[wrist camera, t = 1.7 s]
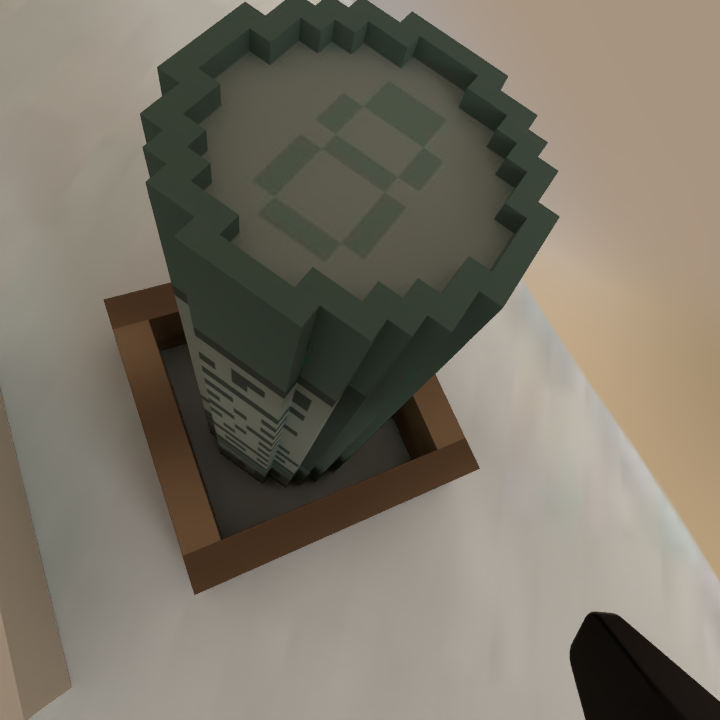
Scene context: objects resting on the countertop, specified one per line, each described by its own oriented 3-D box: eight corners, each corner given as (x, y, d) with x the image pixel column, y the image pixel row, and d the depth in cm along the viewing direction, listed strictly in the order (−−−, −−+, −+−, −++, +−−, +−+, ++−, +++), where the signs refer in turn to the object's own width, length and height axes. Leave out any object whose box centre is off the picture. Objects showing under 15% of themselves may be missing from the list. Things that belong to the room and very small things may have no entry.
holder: (450, 480, 22) (479, 468, 19) (201, 589, 19) (194, 594, 16) (354, 269, 25) (367, 232, 22) (121, 333, 21) (103, 299, 19)
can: (387, 394, 23) (605, 141, 9) (305, 515, 20) (432, 420, 7) (273, 312, 23) (317, -53, 9) (178, 422, 21) (49, 148, 7)
